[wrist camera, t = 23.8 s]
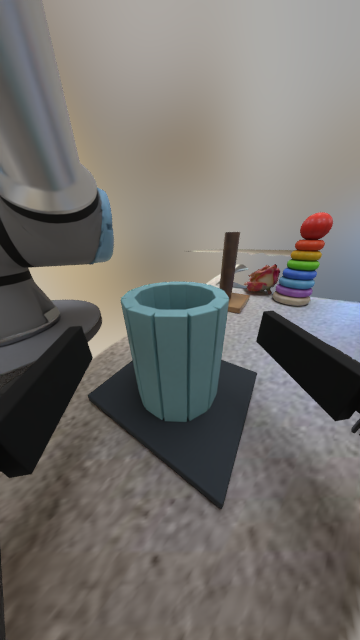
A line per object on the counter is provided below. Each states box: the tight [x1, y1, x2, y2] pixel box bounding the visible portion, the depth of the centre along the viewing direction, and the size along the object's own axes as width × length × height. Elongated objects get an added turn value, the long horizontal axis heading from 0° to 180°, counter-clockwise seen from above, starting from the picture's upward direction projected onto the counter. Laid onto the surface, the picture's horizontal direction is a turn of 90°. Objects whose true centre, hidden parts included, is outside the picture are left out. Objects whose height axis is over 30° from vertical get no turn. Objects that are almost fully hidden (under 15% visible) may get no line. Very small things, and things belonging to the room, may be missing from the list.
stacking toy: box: [273, 213, 333, 306], centre depth 36 cm, size 8×8×19 cm
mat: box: [88, 360, 257, 509], centre depth 17 cm, size 14×12×1 cm
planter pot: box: [121, 282, 229, 422], centre depth 15 cm, size 8×8×10 cm
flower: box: [244, 264, 280, 294], centre depth 45 cm, size 10×9×8 cm
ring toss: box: [220, 232, 250, 313], centre depth 37 cm, size 10×10×16 cm
